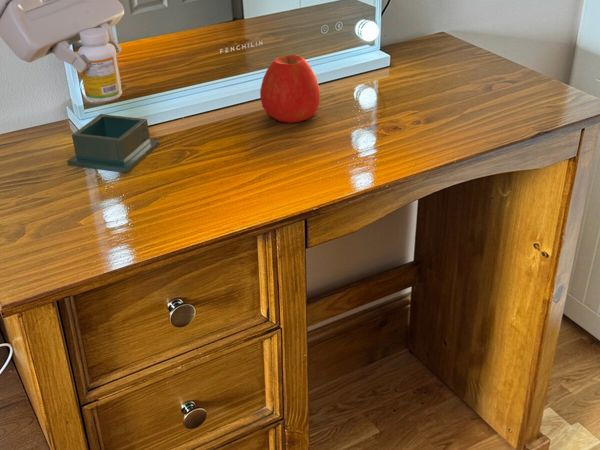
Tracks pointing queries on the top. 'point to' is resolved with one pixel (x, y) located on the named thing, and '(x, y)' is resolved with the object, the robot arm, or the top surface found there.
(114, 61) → the supplement bottle
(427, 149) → the top surface
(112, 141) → the bottle holder
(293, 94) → the apple
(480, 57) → the top surface
